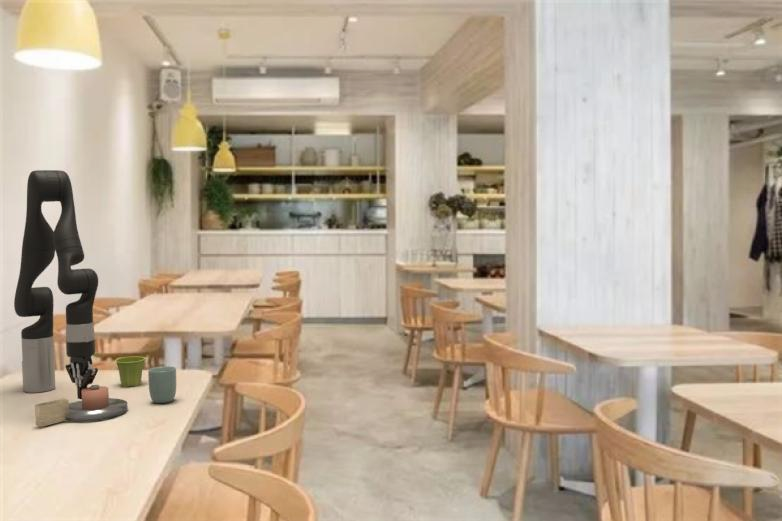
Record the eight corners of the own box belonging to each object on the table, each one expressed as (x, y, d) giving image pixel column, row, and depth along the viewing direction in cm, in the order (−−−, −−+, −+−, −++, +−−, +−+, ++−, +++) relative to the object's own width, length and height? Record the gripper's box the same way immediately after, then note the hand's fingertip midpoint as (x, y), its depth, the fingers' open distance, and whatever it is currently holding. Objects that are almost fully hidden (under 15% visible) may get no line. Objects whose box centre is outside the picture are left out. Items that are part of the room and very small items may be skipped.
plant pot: (152, 383, 235) (151, 357, 235) (131, 389, 227) (130, 363, 226) (131, 380, 239) (130, 355, 239) (109, 386, 231) (108, 360, 230)
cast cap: (77, 407, 198) (76, 386, 197) (99, 402, 203) (98, 381, 203) (91, 411, 194) (90, 389, 193) (114, 405, 199) (113, 384, 199)
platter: (20, 420, 191) (19, 400, 191) (103, 400, 211) (102, 382, 211) (57, 431, 181) (56, 410, 180) (140, 409, 201) (140, 390, 201)
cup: (168, 405, 207) (167, 372, 206) (144, 404, 208) (143, 371, 208) (181, 399, 214) (180, 366, 214) (158, 398, 216) (157, 365, 215)
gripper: (54, 338, 201) (57, 398, 202) (81, 343, 194) (83, 404, 195) (79, 334, 207) (81, 392, 209) (105, 338, 200) (108, 399, 201)
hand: (82, 398), depth 202 cm, fingers closed
